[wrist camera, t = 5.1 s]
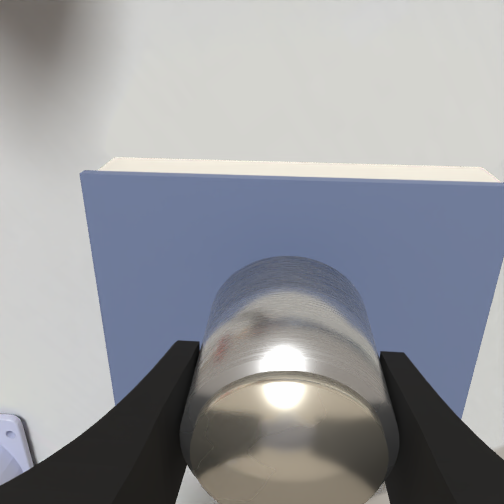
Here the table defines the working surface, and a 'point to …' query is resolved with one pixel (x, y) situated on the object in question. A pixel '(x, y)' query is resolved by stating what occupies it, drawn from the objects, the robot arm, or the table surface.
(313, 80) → the table surface
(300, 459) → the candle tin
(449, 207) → the book
